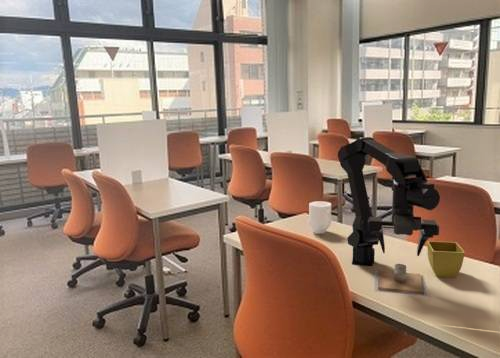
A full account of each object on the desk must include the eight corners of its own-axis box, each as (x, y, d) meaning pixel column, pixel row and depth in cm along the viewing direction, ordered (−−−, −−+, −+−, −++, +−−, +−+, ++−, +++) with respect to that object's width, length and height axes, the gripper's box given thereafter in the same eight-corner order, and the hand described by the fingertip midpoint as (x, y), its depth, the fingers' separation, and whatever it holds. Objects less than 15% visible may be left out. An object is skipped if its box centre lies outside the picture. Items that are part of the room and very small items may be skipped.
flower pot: (463, 281, 120) (465, 252, 119) (431, 279, 122) (433, 250, 121) (454, 269, 129) (456, 242, 127) (425, 267, 131) (426, 240, 129)
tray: (374, 291, 116) (374, 290, 116) (374, 271, 129) (374, 271, 129) (428, 297, 111) (428, 296, 111) (423, 276, 125) (423, 275, 125)
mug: (304, 230, 171) (305, 202, 169) (322, 227, 175) (323, 200, 173) (320, 238, 161) (321, 208, 158) (338, 235, 164) (340, 206, 162)
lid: (378, 289, 116) (378, 272, 115) (378, 272, 127) (378, 256, 126) (424, 294, 113) (425, 276, 112) (420, 276, 124) (420, 260, 123)
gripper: (367, 207, 111) (366, 262, 114) (443, 211, 105) (439, 268, 108) (368, 197, 121) (367, 247, 124) (437, 200, 116) (434, 253, 119)
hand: (400, 254), depth 118 cm, fingers open, 9 cm apart
